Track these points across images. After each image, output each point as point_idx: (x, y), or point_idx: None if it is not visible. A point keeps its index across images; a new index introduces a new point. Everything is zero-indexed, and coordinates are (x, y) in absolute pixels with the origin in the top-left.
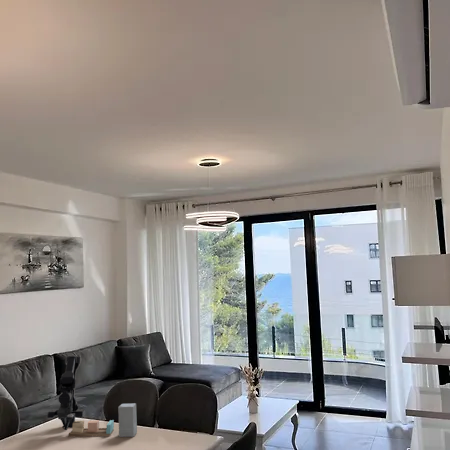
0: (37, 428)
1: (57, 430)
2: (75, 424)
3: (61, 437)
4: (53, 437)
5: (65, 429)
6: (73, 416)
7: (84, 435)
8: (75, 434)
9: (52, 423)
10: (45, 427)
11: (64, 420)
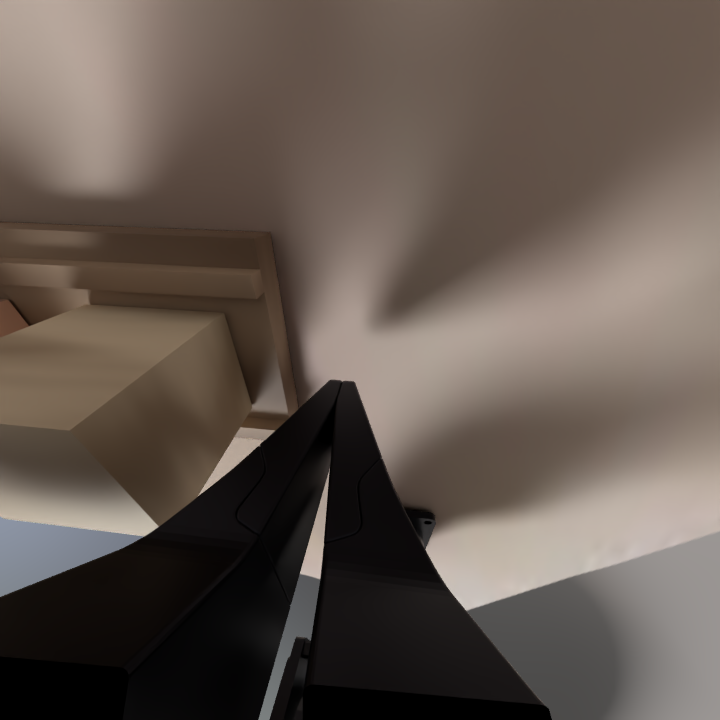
0: (654, 534)
1: (469, 473)
2: (35, 395)
3: (374, 221)
4: (515, 237)
5: (341, 386)
6: (41, 699)
7: (9, 226)
8: (129, 234)
9: (514, 575)
10: (576, 538)
11: (323, 570)
